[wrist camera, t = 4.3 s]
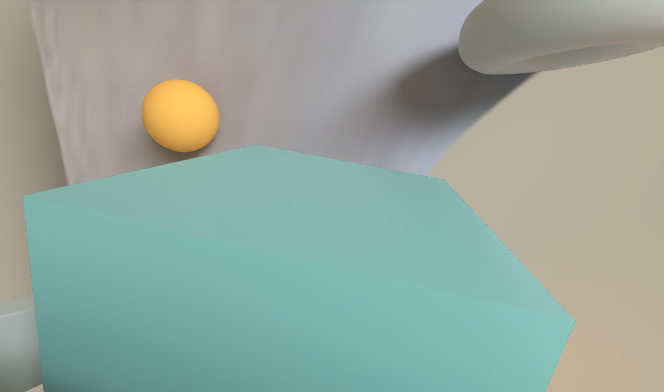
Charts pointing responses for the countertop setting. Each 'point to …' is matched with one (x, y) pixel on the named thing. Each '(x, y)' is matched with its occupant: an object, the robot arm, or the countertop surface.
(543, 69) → the donut
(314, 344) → the teal cube
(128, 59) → the countertop surface
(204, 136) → the ball
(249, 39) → the countertop surface
